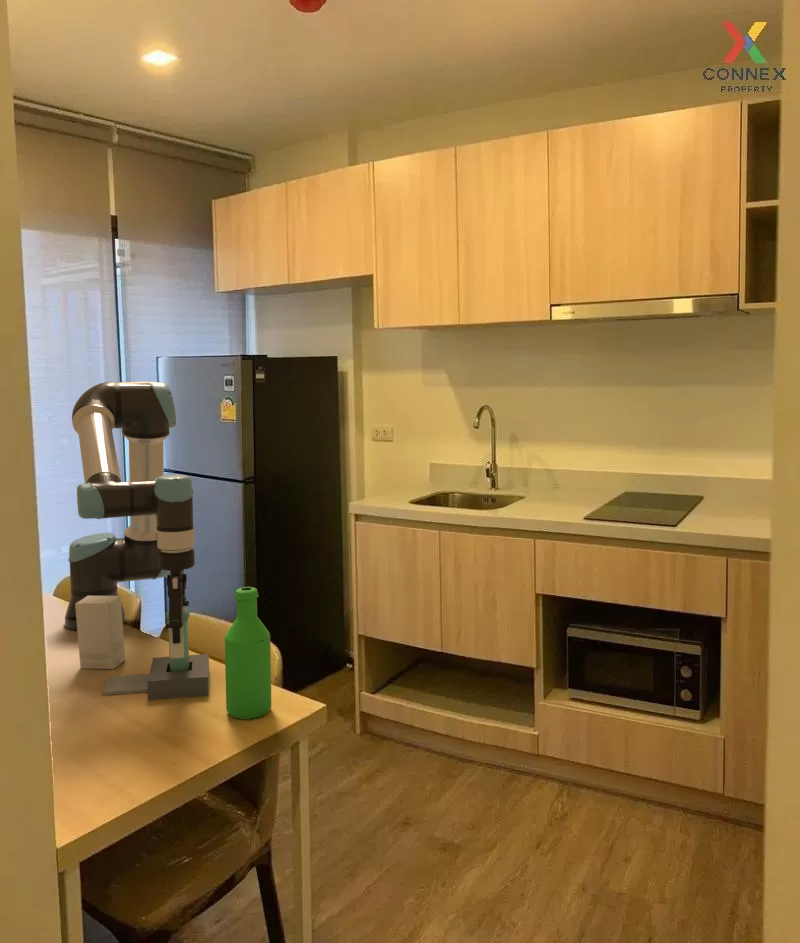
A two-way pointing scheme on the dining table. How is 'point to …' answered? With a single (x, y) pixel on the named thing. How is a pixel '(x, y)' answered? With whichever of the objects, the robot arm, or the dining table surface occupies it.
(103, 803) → the dining table surface
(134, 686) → the coaster
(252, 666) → the bottle
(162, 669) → the socket block
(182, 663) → the plug
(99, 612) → the skincare box
